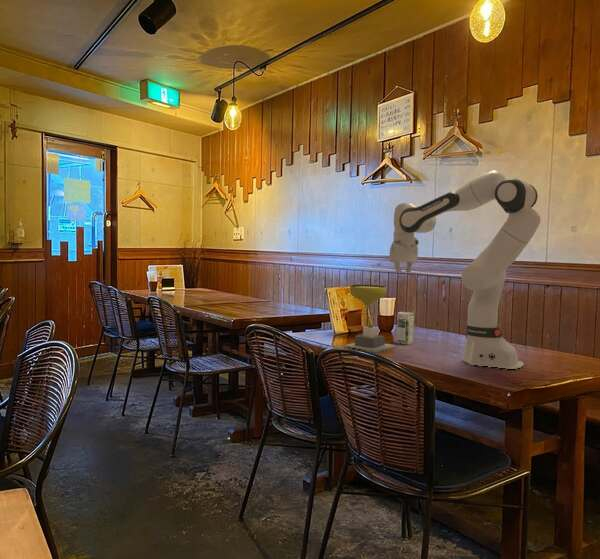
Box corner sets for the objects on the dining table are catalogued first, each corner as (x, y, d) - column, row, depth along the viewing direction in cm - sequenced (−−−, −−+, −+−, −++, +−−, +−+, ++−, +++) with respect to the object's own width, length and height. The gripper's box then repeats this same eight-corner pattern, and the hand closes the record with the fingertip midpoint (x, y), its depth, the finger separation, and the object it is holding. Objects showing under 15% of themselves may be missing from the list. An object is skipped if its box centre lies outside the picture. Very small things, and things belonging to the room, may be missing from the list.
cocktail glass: (345, 332, 257) (346, 284, 255) (379, 332, 259) (380, 285, 257) (353, 339, 239) (354, 287, 237) (389, 339, 241) (391, 287, 240)
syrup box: (396, 343, 231) (397, 312, 230) (402, 341, 236) (403, 311, 235) (406, 344, 227) (407, 313, 226) (413, 343, 232) (414, 312, 231)
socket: (394, 347, 222) (394, 336, 221) (376, 352, 209) (376, 340, 209) (363, 342, 232) (363, 331, 231) (344, 347, 219) (344, 336, 219)
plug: (376, 345, 221) (377, 324, 220) (371, 346, 217) (372, 326, 217) (367, 343, 223) (368, 323, 223) (362, 345, 220) (363, 324, 219)
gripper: (399, 240, 207) (398, 273, 208) (420, 241, 223) (420, 272, 224) (385, 240, 211) (385, 272, 211) (407, 241, 227) (407, 271, 227)
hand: (403, 272), depth 218 cm, fingers open, 8 cm apart
